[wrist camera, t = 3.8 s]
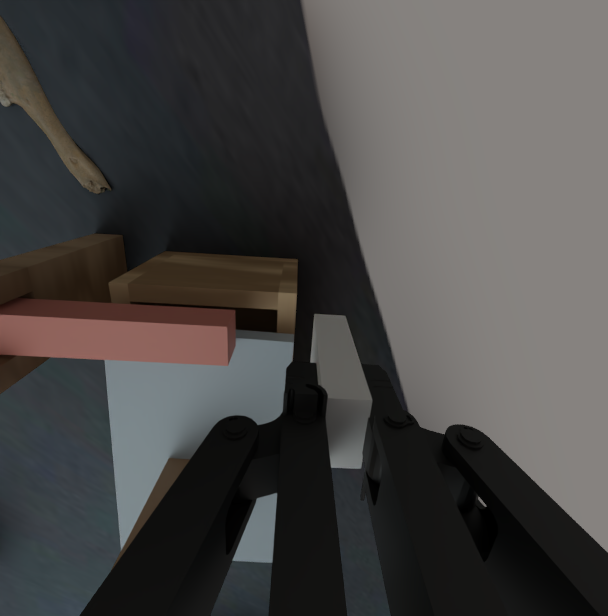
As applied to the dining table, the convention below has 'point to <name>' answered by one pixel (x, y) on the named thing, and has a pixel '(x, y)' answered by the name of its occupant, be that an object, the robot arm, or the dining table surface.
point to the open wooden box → (217, 287)
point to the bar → (117, 331)
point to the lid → (190, 426)
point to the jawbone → (41, 110)
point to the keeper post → (59, 283)
